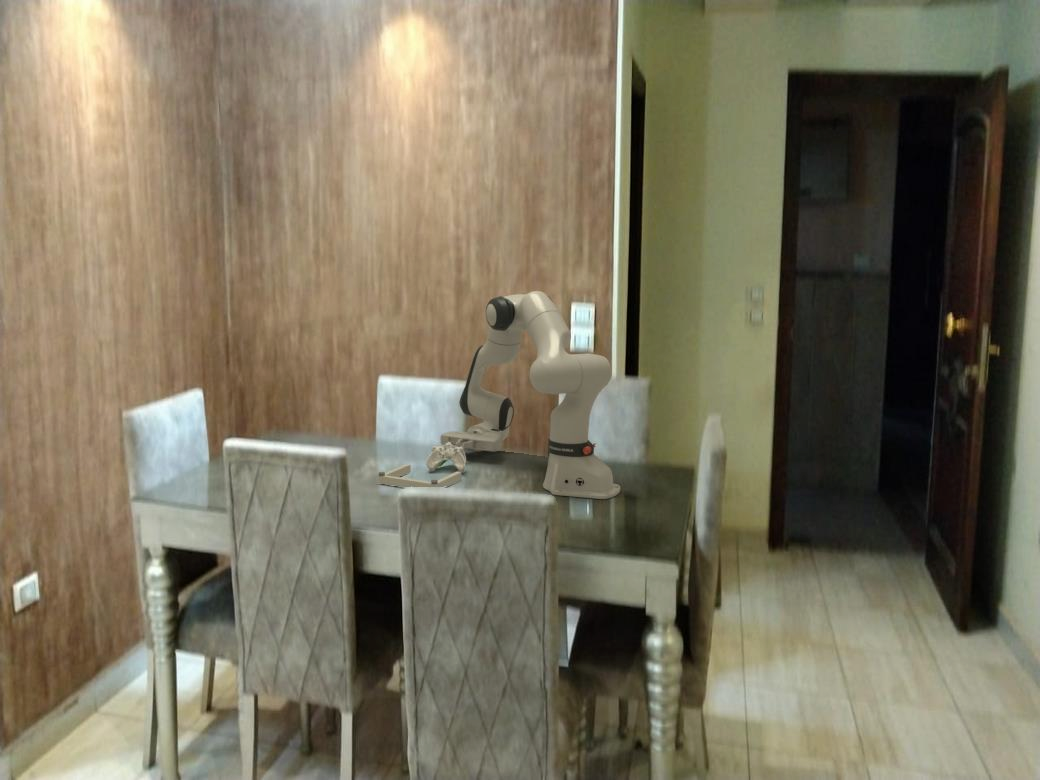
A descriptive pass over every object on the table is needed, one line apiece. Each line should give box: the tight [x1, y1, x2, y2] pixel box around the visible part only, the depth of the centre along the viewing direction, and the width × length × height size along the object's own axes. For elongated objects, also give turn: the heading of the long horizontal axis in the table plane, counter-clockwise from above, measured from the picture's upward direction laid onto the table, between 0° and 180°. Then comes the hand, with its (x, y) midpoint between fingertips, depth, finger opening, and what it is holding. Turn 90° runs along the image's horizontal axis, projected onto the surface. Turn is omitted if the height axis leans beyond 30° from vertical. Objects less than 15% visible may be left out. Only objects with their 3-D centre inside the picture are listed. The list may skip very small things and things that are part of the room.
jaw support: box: [425, 442, 467, 474], centre depth 279 cm, size 12×9×10 cm
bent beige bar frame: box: [377, 463, 462, 489], centre depth 265 cm, size 19×16×3 cm
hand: (459, 446), depth 286 cm, fingers closed
